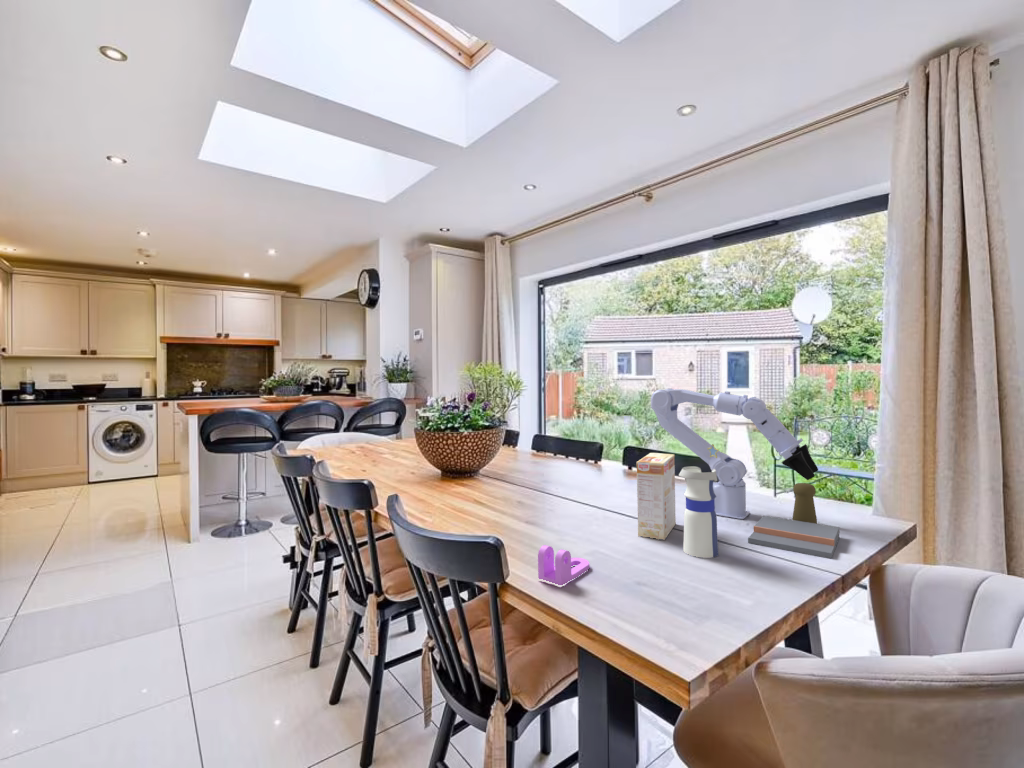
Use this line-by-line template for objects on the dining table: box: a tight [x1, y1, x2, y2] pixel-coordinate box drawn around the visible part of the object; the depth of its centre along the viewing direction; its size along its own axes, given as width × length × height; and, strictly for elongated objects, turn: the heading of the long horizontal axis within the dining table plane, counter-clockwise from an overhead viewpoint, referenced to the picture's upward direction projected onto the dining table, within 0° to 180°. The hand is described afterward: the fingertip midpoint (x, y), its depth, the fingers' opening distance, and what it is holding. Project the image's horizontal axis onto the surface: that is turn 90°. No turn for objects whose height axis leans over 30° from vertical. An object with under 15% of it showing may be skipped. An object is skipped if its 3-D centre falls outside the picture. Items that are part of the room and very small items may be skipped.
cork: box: [791, 482, 818, 524], centre depth 130 cm, size 6×6×11 cm
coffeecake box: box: [636, 452, 677, 541], centre depth 127 cm, size 15×7×20 cm, turn 150°
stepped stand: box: [747, 515, 840, 559], centre depth 118 cm, size 17×17×3 cm
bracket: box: [537, 544, 590, 585], centre depth 101 cm, size 13×6×7 cm, turn 141°
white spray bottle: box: [678, 443, 720, 559], centre depth 112 cm, size 8×9×25 cm
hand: (813, 475), depth 128 cm, fingers open, 7 cm apart
